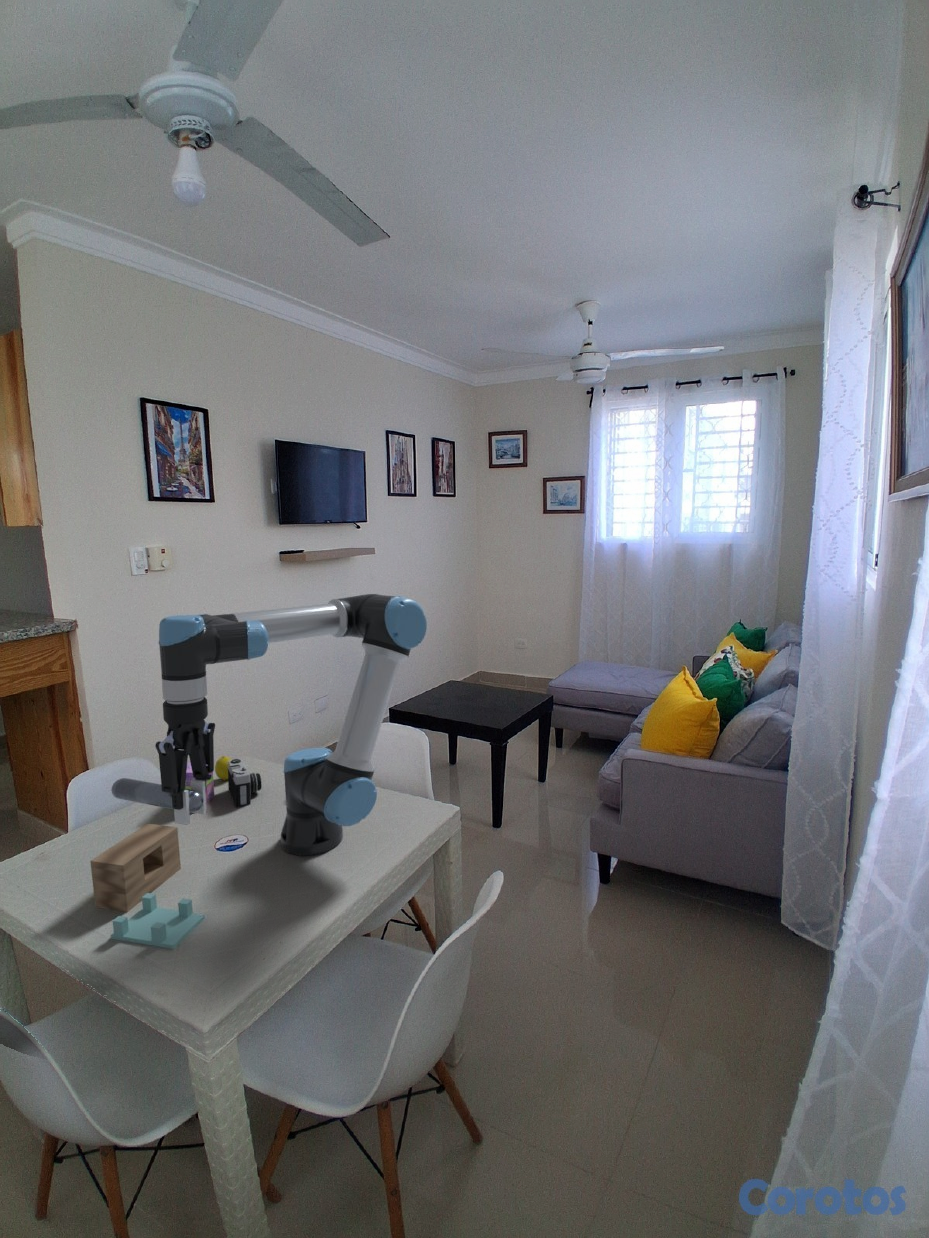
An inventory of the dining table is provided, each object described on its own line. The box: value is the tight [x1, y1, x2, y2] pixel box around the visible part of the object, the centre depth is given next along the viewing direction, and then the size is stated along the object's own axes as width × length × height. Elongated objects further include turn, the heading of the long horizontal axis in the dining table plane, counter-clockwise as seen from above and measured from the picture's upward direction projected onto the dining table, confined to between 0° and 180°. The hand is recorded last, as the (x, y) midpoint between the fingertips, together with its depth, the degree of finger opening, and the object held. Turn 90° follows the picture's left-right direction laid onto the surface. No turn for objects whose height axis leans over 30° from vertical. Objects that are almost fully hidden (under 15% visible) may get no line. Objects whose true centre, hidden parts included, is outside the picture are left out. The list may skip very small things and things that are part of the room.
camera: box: [227, 758, 263, 809], centre depth 174 cm, size 14×9×10 cm, turn 22°
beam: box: [89, 823, 182, 913], centre depth 130 cm, size 8×16×10 cm, turn 167°
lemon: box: [214, 755, 232, 781], centre depth 186 cm, size 6×6×8 cm
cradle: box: [110, 893, 206, 950], centre depth 117 cm, size 14×9×4 cm, turn 77°
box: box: [185, 761, 215, 805], centre depth 170 cm, size 10×6×12 cm, turn 179°
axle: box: [111, 777, 204, 814], centre depth 115 cm, size 20×4×4 cm, turn 75°
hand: (191, 817), depth 114 cm, fingers closed on axle, 4 cm apart
